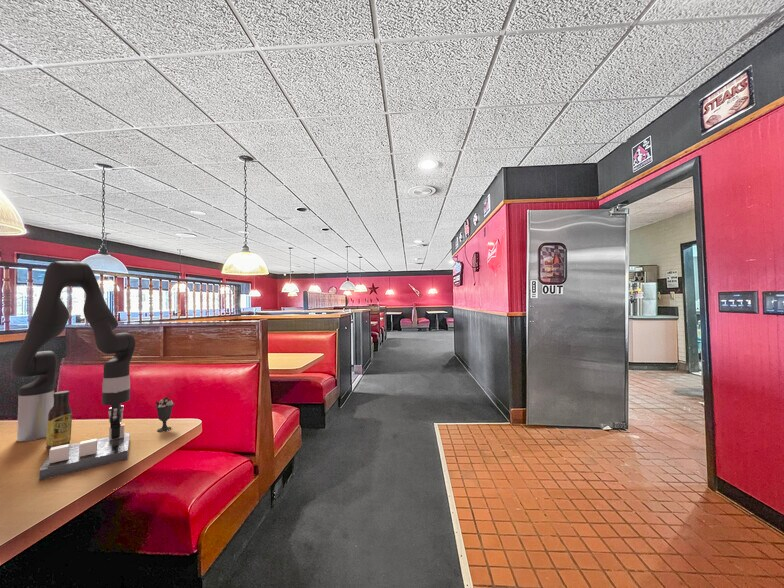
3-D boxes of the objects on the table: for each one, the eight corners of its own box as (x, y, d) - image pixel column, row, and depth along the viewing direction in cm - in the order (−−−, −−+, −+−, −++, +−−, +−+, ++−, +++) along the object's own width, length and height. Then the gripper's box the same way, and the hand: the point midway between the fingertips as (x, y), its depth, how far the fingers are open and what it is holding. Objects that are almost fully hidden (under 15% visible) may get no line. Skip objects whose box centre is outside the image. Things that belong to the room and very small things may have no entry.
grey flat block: (53, 456, 106) (53, 447, 106) (129, 440, 119) (129, 432, 119) (39, 480, 92) (39, 470, 92) (127, 459, 105) (127, 450, 105)
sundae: (178, 427, 131) (178, 391, 131) (161, 433, 124) (162, 396, 125) (167, 425, 133) (167, 390, 133) (150, 431, 126) (151, 394, 127)
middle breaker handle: (80, 453, 101) (80, 441, 101) (97, 450, 104) (97, 438, 104) (78, 456, 99) (79, 444, 99) (96, 453, 102) (96, 440, 102)
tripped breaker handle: (109, 437, 113) (109, 425, 113) (124, 434, 116) (124, 423, 116) (108, 440, 111) (109, 428, 111) (124, 437, 114) (124, 425, 114)
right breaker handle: (51, 460, 97) (51, 447, 97) (69, 456, 100) (69, 443, 100) (49, 463, 95) (49, 450, 95) (67, 459, 98) (68, 446, 98)
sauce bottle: (53, 452, 109) (55, 395, 110) (40, 450, 111) (42, 394, 111) (76, 443, 116) (77, 390, 116) (63, 442, 117) (64, 389, 117)
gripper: (104, 387, 114) (103, 434, 113) (100, 394, 104) (99, 447, 103) (130, 383, 119) (130, 429, 118) (129, 390, 108) (128, 441, 108)
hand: (115, 437), depth 111 cm, fingers closed
